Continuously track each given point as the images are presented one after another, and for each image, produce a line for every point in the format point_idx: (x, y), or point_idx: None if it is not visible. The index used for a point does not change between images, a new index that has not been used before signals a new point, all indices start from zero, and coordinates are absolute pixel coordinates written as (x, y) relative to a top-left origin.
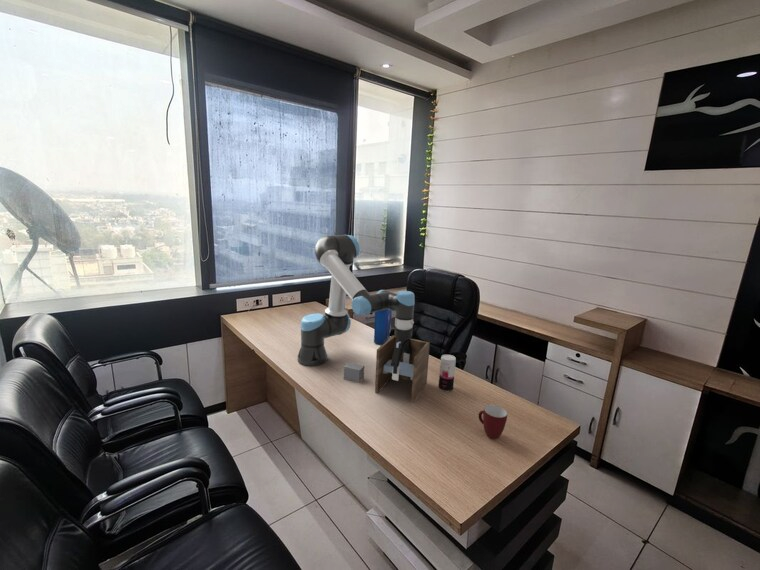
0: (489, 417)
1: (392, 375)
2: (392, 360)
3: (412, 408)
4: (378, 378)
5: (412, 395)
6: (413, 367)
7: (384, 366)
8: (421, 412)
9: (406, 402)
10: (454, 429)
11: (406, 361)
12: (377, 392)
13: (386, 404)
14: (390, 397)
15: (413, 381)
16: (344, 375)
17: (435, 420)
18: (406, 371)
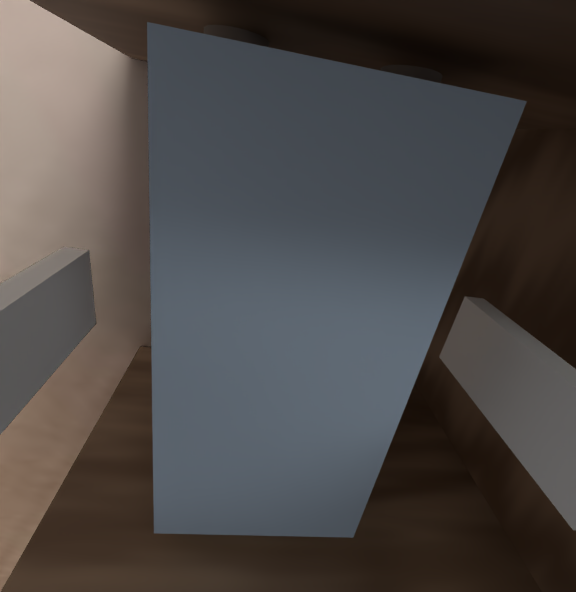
0: None
1: (26, 272)
2: None
3: (73, 364)
4: (60, 11)
5: (121, 384)
6: (290, 504)
7: (150, 56)
8: (63, 411)
9: (122, 320)
10: (18, 533)
11: (495, 384)
12: (130, 56)
13: (7, 192)
14: (128, 199)
15: (60, 493)
16: None
17: (34, 472)
18: (157, 452)
